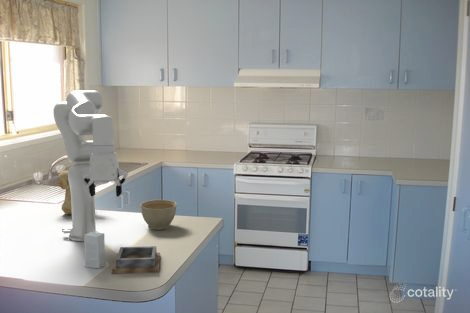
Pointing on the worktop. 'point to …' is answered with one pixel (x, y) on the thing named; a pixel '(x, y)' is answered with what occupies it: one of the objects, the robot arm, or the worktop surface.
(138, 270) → the socket stand
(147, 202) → the planter bowl
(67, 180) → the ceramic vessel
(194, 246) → the worktop surface
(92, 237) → the skincare box
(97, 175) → the robot arm
